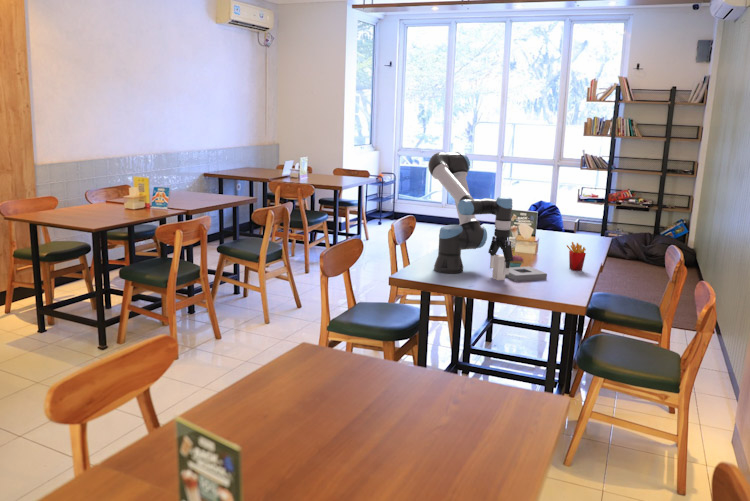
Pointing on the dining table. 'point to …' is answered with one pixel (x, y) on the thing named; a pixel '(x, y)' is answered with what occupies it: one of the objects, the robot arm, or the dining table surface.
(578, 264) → the french fries
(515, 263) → the cupcake
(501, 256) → the plug
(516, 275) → the socket
